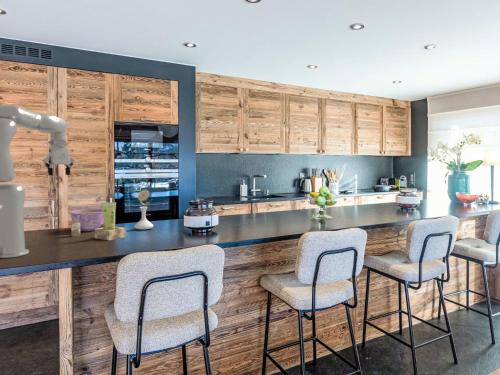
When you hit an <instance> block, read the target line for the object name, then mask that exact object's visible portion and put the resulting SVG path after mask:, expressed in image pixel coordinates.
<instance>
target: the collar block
mask: <svg viewBox="0 0 500 375" xmlns="http://www.w3.org/2000/svg"><path fill="white" fill-rule="evenodd" d="M94 238H95V239H98V240H105V241H113V240H118V239H122V238H127V228H126V227H122V226H115V229H113V230H105V226H104V227H99V228H96V229H95V230H94Z"/></svg>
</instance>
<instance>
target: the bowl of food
mask: <svg viewBox="0 0 500 375" xmlns="http://www.w3.org/2000/svg"><path fill="white" fill-rule="evenodd" d="M69 215H70V217H71V221H72V223H80V232H81V231H82V232H90V231H91V232H92V231H95V229H97V228H101V226H102V225H103V224H104V217H103V209H102V208H94V209H93V208H92V209H91V208H87V209H77V210H70V212H69Z"/></svg>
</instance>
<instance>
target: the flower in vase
mask: <svg viewBox="0 0 500 375" xmlns="http://www.w3.org/2000/svg"><path fill="white" fill-rule="evenodd" d="M149 196H150V191H149V190H147V189H142V190H140V192H138V196H137V200H138V201H140V202H139V203H141V204H142V205H144V206H140V207H139V209H140V211H141V218H140V220H139V221H138V222H137V223H136V224H135V225H134V226H133V227H134V228H135V229H136V230H150V229H152V228H154V224H153V223H152V222H150V221H149V220H148V219H147V216H146V215H147V214H146V213H147V209H148V206H150V205H151V204H150V202H149V201H147V199H148V198H149ZM143 201H145V203H144V202H143Z"/></svg>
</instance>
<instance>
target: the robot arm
mask: <svg viewBox="0 0 500 375" xmlns="http://www.w3.org/2000/svg"><path fill="white" fill-rule="evenodd" d="M18 126H19V127H21V128H25V129H29V130H37V132H40V133H41V134H49V136H50V137H49V138H50V140H49V141H48V143H47V144H48V145H50V146H49V147H48V153H47V154H48V155H47V157H45V158H43V159H42V162H43V163H44V166H45V167H46V169H47V174H48V176H54V168H53V167H54V166H55V165H64V166H65V170H64V172H65V176H70V175H71V168H72V166H73V165H74V162H75V160H74V159H73V158H71V155H70V151H69V147H68V146H67V134H66V133H67V129H68V125H67V122H66V120H64V119H63V118H61V117H59V116H55V115H52V114H46V113H42V112H36V111H32V110H30V109H27V108H25V107H21V106H18V105H14V104H6V105H5V104H4V105H3V104H0V206H1V208H0V259H8V258H17V257H22V256H25V255H27V254H29V253H30V250H29V249H27V248H26V244H25V243H26V242H25V223H24V222H25V221H24V220H25V219H24V206H25V201H26V190H25V189H24V188H23V186H21V185H19V184H17V183H16V184H15V183H9V182H12V181H14V180H15V178H16V170H15V167H14V164H13V160H12V155H11V153H10V152H11V151H10V146H11V142H12V140H13V139H14V137H15V135H16V134H17V131H18Z"/></svg>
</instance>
